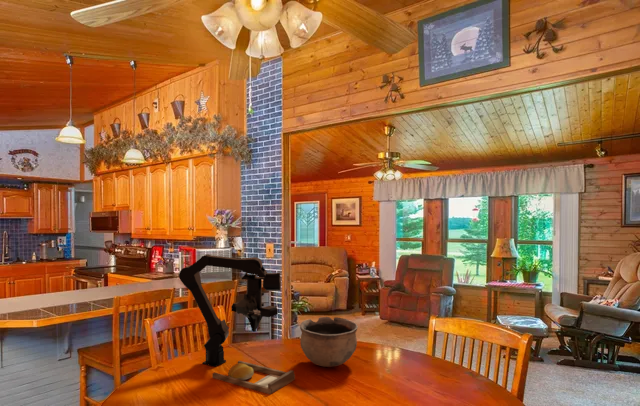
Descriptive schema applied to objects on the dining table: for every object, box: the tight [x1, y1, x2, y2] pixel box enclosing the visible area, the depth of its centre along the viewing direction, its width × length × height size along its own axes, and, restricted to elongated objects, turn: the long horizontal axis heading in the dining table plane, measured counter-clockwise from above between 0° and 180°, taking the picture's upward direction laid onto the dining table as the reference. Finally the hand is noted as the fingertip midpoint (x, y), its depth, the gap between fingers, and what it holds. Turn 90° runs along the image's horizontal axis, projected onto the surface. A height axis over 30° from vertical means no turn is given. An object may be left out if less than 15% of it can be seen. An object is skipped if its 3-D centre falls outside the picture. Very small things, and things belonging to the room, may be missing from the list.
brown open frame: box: [211, 360, 296, 395], centre depth 146 cm, size 25×14×3 cm, turn 59°
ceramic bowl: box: [299, 316, 359, 368], centre depth 160 cm, size 22×22×15 cm
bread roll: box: [227, 363, 255, 381], centre depth 147 cm, size 8×9×4 cm
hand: (254, 331), depth 161 cm, fingers closed
